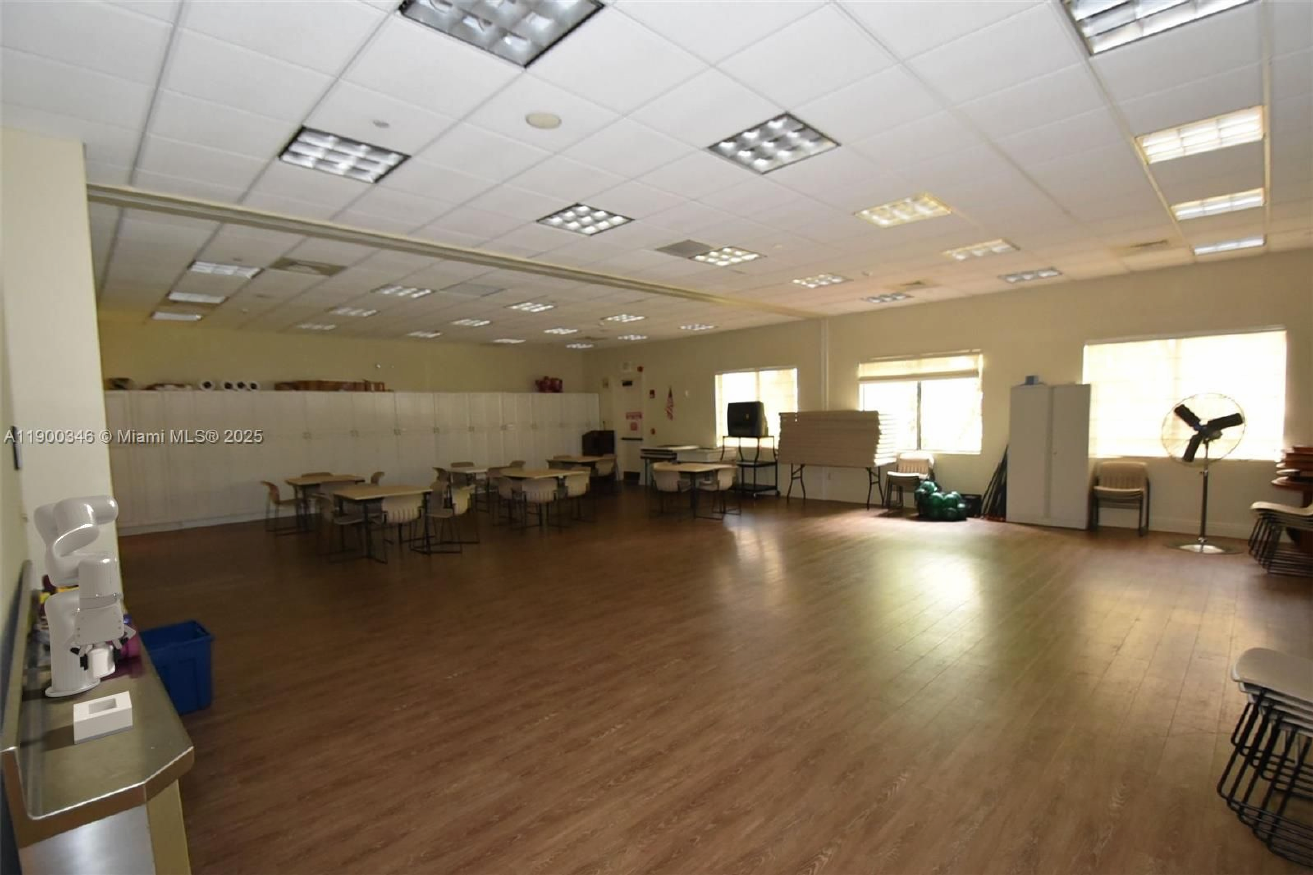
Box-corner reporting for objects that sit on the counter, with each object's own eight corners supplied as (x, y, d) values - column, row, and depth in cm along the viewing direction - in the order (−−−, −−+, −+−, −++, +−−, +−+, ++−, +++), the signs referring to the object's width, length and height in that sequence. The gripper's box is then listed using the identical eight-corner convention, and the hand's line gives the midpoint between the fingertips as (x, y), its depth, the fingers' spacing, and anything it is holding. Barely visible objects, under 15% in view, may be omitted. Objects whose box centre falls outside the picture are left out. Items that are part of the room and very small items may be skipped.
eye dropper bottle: (115, 674, 167) (113, 632, 166) (87, 681, 163) (85, 637, 162) (114, 670, 170) (112, 628, 170) (87, 676, 166) (85, 633, 166)
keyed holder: (74, 725, 168) (73, 704, 168) (129, 711, 176) (128, 691, 176) (74, 744, 158) (73, 722, 158) (132, 728, 166) (131, 707, 166)
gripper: (138, 592, 174) (140, 653, 175) (54, 605, 162) (57, 671, 163) (140, 597, 169) (142, 660, 170) (54, 611, 157) (57, 679, 158)
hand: (100, 665), depth 166 cm, fingers closed on eye dropper bottle, 5 cm apart
